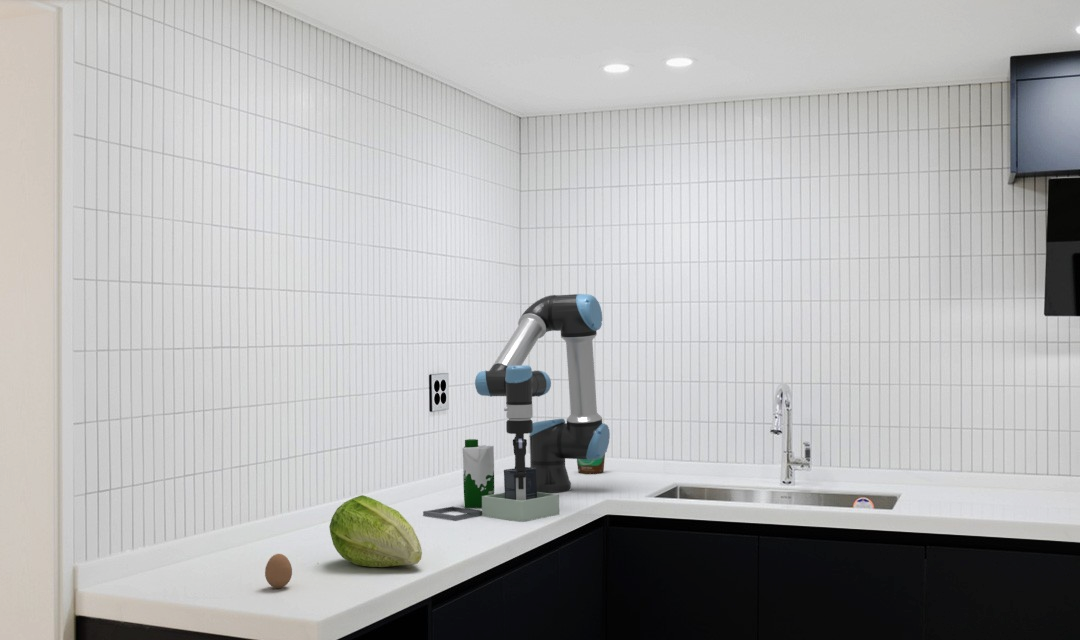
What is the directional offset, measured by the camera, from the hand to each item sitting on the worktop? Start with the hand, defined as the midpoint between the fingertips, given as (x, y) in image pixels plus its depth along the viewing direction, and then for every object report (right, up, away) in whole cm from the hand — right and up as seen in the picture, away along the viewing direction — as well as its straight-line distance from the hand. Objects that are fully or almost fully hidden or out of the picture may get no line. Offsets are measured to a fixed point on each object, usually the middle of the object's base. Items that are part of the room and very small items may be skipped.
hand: (520, 497), depth 302 cm
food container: (+24, -6, +89) cm, 92 cm away
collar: (-19, -5, +1) cm, 20 cm away
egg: (-48, -5, -85) cm, 97 cm away
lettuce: (-31, -5, -64) cm, 71 cm away
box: (0, -2, 0) cm, 2 cm away
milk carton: (-13, -6, +17) cm, 22 cm away
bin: (0, -5, 0) cm, 5 cm away
